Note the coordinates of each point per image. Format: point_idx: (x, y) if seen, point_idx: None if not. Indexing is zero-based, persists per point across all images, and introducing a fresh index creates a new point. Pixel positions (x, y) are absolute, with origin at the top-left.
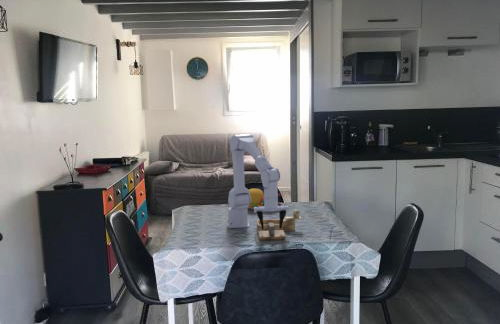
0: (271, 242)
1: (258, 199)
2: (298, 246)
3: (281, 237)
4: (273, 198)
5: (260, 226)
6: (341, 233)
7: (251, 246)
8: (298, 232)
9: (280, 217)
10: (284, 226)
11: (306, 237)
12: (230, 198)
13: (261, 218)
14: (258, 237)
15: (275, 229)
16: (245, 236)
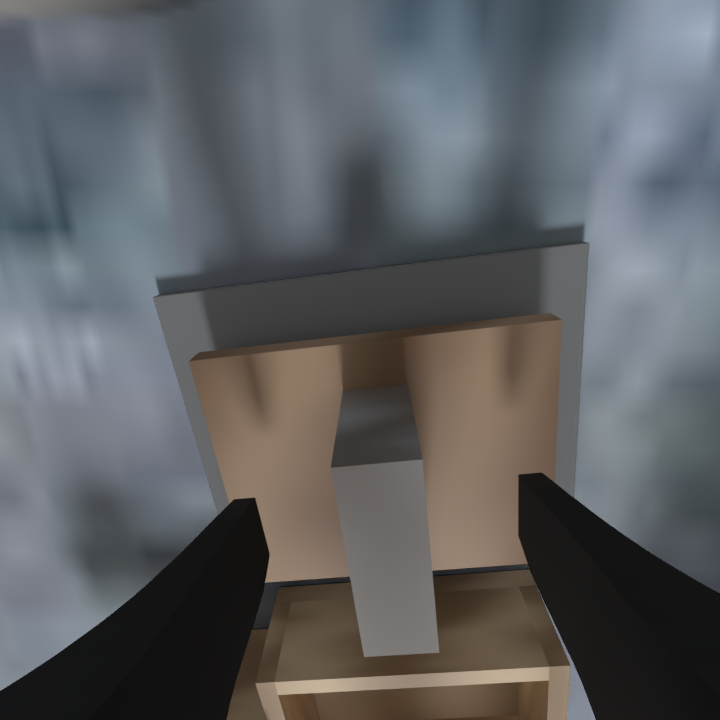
0: (383, 267)
1: None
2: (18, 128)
3: (249, 348)
4: None
5: (528, 650)
6: None
7: (664, 123)
8: (127, 598)
9: (136, 664)
10: (251, 680)
11: (12, 462)
12: None
13: (694, 624)
14: None
15: (345, 619)
16: (674, 505)
